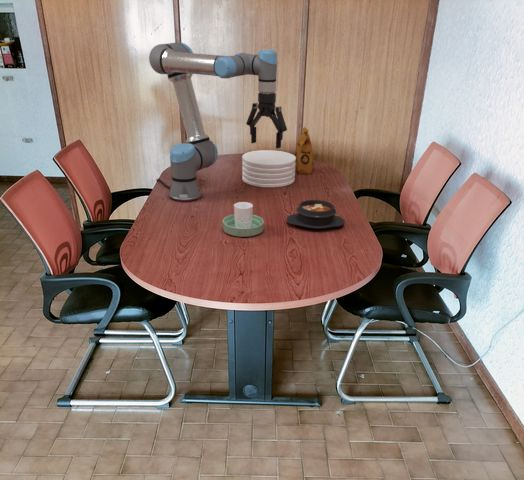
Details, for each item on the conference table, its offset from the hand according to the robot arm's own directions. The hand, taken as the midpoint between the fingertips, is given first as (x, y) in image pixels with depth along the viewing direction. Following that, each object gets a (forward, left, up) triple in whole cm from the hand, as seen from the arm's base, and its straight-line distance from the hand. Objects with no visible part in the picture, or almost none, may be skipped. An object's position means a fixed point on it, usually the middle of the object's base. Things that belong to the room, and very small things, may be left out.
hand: (265, 145), depth 230 cm
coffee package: (-16, +58, -27) cm, 66 cm away
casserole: (+32, -6, -27) cm, 42 cm away
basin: (+12, -31, -27) cm, 43 cm away
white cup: (+12, -31, -26) cm, 42 cm away
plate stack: (-22, +33, -27) cm, 48 cm away
